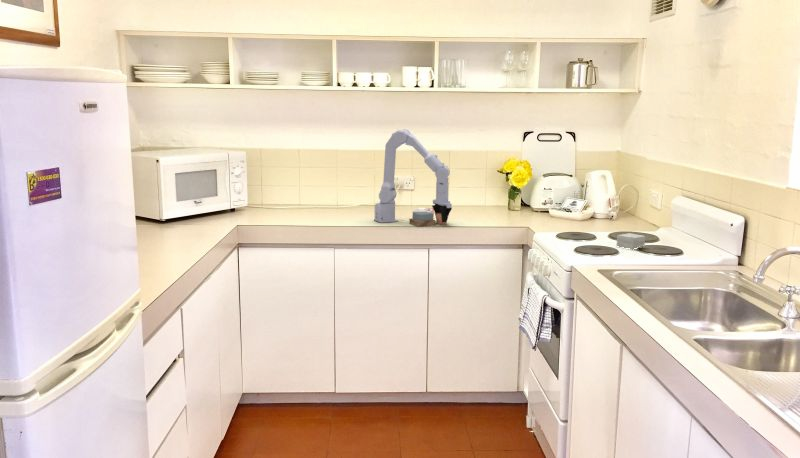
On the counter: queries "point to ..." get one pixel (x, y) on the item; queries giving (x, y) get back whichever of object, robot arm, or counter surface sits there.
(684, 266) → the counter surface
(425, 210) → the ink box
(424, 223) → the walnut slab
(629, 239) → the small box
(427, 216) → the slate block
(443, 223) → the terracotta cylinder
